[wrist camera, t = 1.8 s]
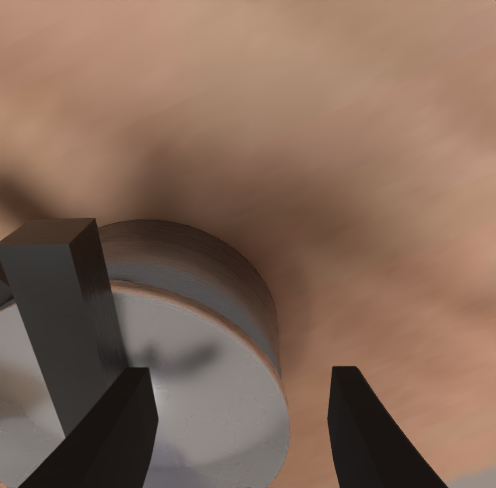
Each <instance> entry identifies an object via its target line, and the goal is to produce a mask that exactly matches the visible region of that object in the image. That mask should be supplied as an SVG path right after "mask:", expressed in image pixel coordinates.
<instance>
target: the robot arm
mask: <svg viewBox="0 0 496 488" xmlns="http://www.w3.org/2000/svg"><path fill="white" fill-rule="evenodd" d="M327 420H328V427H329V435H330V442H331V449H332V455H333V461H334V465H335V470H336V474H337V478H338V482H339V486H340V488H448V487H447V486H446V484H445V483H444V482H443V481H442V480H441V479H440V477H439V476H438V475H437V474H436V473H435V471H434V470H433V469H432V468H431V467H430V466H429V464H428V463H427V462H426V461H425V460H424V458H423V457H422V456H421V455H420V453H419V452H418V451H417V450H416V448H415V447H414V446H413V445H412V443H411V442H410V441H409V439H408V438H407V437H406V435H405V434H404V433H403V432H402V430H401V429H400V428H399V426H398V425H397V424H396V422H395V421H394V420H393V418H392V417H391V416H390V414H389V413H388V412H387V410H386V409H385V407H384V406H383V404H382V403H381V402H380V400H379V399H378V397H377V396H376V394H375V393H374V391H373V390H372V389H371V387H370V386H369V384H368V382H367V381H366V379H365V378H364V376H363V375H362V373H361V372H360V370H359V369H358V368H357V367H356V366H333V367H332V377H331V387H330V398H329V408H328V418H327ZM158 421H159V417H158V412H157V407H156V402H155V397H154V392H153V387H152V382H151V376H150V371H149V367H126V368H125V369H124V370H123V371H122V372H121V374H120V375H119V376H118V377H117V378H116V380H115V381H114V382H113V383H112V384H111V386H110V387H109V388H108V389H107V391H106V392H105V393H104V394H103V395H102V397H101V398H100V399H99V400H98V401H97V402H96V404H95V405H94V406H93V407H92V408H91V410H90V411H89V412H88V413H87V414H86V415H85V416H84V418H83V419H82V420H81V421H80V422H79V423H78V424H77V425H76V427H75V428H74V429H73V430H72V431H71V432H70V433H69V435H68V436H67V437H66V438H65V439H64V440H63V441H62V442H61V443H60V444H59V446H58V447H57V448H56V449H55V450H54V451H53V452H52V453H51V454H50V455H49V456H48V457H47V458H46V459H45V460H44V461H43V462H42V463H41V464H40V465H39V466H38V467H37V469H36V470H35V471H34V472H33V473H32V474H31V475H30V476H29V477H28V478H27V479H26V480H25V481H24V482H23V483H22V484H21V485H20V486H19V487H18V488H143V485H144V482H145V478H146V475H147V472H148V468H149V465H150V462H151V458H152V453H153V448H154V443H155V438H156V432H157V427H158Z"/></svg>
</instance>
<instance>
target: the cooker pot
mask: <svg viewBox="0 0 496 488" xmlns="http://www.w3.org/2000/svg"><path fill="white" fill-rule="evenodd" d="M98 233H99V237H100V241H101V246H102V250H103V255H104V259H105V264H106V268H107V272H108V277H109V280H122V281H128V282H135V283H141V284H147V285H151V286H155V287H158V288H162V289H166V290H170V291H173V292H175V293H178V294H181V295H183V296H186V297H188V298H191V299H194V300H196V301H198V302H200V303H202V304H204V305H206V306H208V307H210V308H211V309H213V310H215V311H217V312H219V313H220V314H222V315H223V316H225V317H226V318H228V319H229V320H231V321H232V322H234V323H235V324H236V325H238V326H239V327H240V328H241V329H242V330H243V331H245V332H246V333H247V334H248V335H249V336H250V337H251V338H253V340H254V341H255V342H256V343H257V344H258V345H259V346H260V347H261V349H262V350H263V351H264V352H265V353H266V354H267V356H268V357H269V359H270V361H271V362H272V364H273V365H274V367H275V368H276V370H277V372H278V374H279V377H280V379H281V369H280V356H279V342H278V329H277V318H276V311H275V307H274V303H273V300H272V297H271V295H270V292H269V290H268V288H267V286H266V284H265V282H264V281H263V279H262V278H261V276H260V275H259V273H258V272H257V271H256V270H255V268H254V267H253V266H252V265H251V264H250V263H249V262H248V261H247V260H246V259H245V258H244V257H243V256H242V255H241V254H240V253H238V252H237V251H236V250H235V249H233V248H232V247H230V246H229V245H227V244H226V243H225V242H223V241H222V240H220V239H218V238H216V237H214V236H212V235H210V234H208V233H206V232H203V231H201V230H198V229H195V228H193V227H190V226H186V225H182V224H178V223H174V222H168V221H160V220H132V221H123V222H118V223H114V224H110V225H106V226H103V227H101V228H98ZM12 299H14V296H13V294H12V291H11V288H10V286H9V283H8V280H7V277H6V275H5V272H4V269H3V267H2V264H1V261H0V307H1V306H3V305H4V304H5V303H7V302H8V301H10V300H12Z"/></svg>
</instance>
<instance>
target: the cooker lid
mask: <svg viewBox="0 0 496 488" xmlns="http://www.w3.org/2000/svg"><path fill="white" fill-rule="evenodd" d="M0 261H1V264H2V267H3V269H4V272H5V275H6V277H7V280H8V283H9V286H10V288H11V291H12V294H13V296H14V299H12V300H10V301H8V302H7V303H5V304H4V305H3V306H1V307H0V482H1V483H3V484H4V485H5V486H7V487H8V488H18V487H19V486H20V485H21V484H22V483H23V482H24V481H25V480H26V479H27V478H28V477H29V476H30V475H31V474H32V473H33V472H34V471H35V470H36V469H37V467H38V466H39V465H40V464H41V463H42V462H43V461H44V460H45V459H46V458H47V457H48V456H49V455H50V454H51V453H52V452H53V451H54V450H55V449H56V448H57V447H58V446H59V444H60V443H61V442H62V441H63V440H64V439H65V438H66V437H67V436H68V435H69V433H70V432H71V431H72V430H73V429H74V428H75V427H76V425H77V424H78V423H79V422H80V421H81V420H82V419H83V418H84V416H85V415H86V414H87V413H88V412H89V411H90V410H91V408H92V407H93V406H94V405H95V404H96V402H97V401H98V400H99V399H100V398H101V397H102V395H103V394H104V393H105V392H106V391H107V389H108V388H109V387H110V386H111V384H112V383H113V382H114V381H115V380H116V378H117V377H118V376H119V375H120V374H121V372H122V371H123V370H124V369H125V368H126V367H149V371H150V376H151V382H152V387H153V392H154V397H155V402H156V407H157V412H158V417H159V421H158V427H157V432H156V438H155V443H154V448H153V453H152V458H151V462H150V465H149V468H148V472H147V475H146V478H145V482H144V485H143V488H267V487H268V486H269V485H270V484H271V482H272V481H273V480H274V479H275V477H276V476H277V474H278V473H279V471H280V469H281V467H282V465H283V464H284V461H285V458H286V455H287V452H288V447H289V439H290V429H289V416H288V404H287V398H286V394H285V390H284V386H283V383H282V381H281V379H280V377H279V374H278V372H277V370H276V368H275V367H274V365H273V364H272V362H271V361H270V359H269V357H268V356H267V354H266V353H265V352H264V351H263V350H262V349H261V347H260V346H259V345H258V344H257V343H256V342H255V341H254V340H253V338H251V337H250V336H249V335H248V334H247V333H246V332H245V331H243V330H242V329H241V328H240V327H239V326H238V325H236V324H235V323H234V322H232V321H231V320H229V319H228V318H226V317H225V316H223V315H222V314H220V313H219V312H217V311H215V310H213V309H211V308H210V307H208V306H206V305H204V304H202V303H200V302H198V301H196V300H194V299H191V298H188V297H186V296H183V295H181V294H178V293H175V292H173V291H170V290H166V289H162V288H158V287H155V286H151V285H147V284H141V283H135V282H128V281H122V280H109V277H108V272H107V268H106V264H105V259H104V255H103V250H102V246H101V241H100V237H99V233H98V228H97V224H96V219H95V218H77V219H31V220H30V221H28V222H27V223H26V224H24V225H23V226H21V227H20V228H18V229H17V230H16V231H14V232H13V233H11V234H10V235H8V236H7V237H5V238H4V239H3V240H1V241H0Z"/></svg>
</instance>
